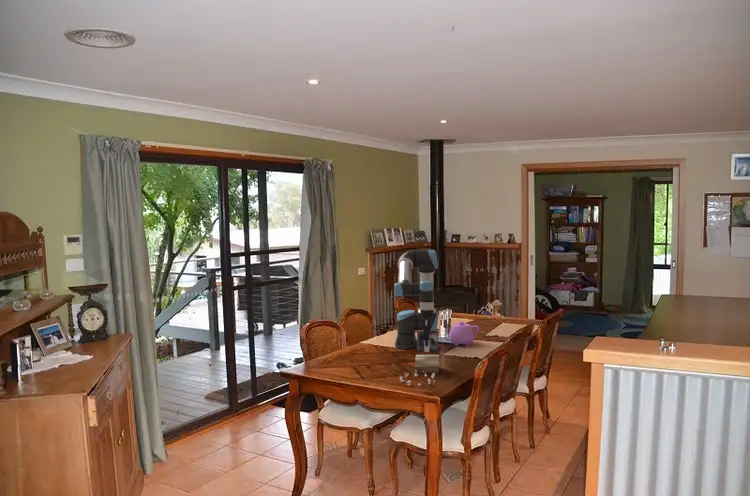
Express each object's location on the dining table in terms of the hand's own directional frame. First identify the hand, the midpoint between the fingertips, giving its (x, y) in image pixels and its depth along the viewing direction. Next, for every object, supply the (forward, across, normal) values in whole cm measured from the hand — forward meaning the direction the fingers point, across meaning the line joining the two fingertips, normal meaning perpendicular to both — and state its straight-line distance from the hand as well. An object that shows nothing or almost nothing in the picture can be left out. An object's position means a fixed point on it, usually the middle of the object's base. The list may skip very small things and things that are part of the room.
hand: (427, 349), depth 322 cm
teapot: (+12, -65, +19) cm, 69 cm away
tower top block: (+8, 0, 0) cm, 8 cm away
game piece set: (+12, +19, -4) cm, 23 cm away
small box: (0, 0, 0) cm, 0 cm away
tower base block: (+12, 0, 0) cm, 12 cm away
